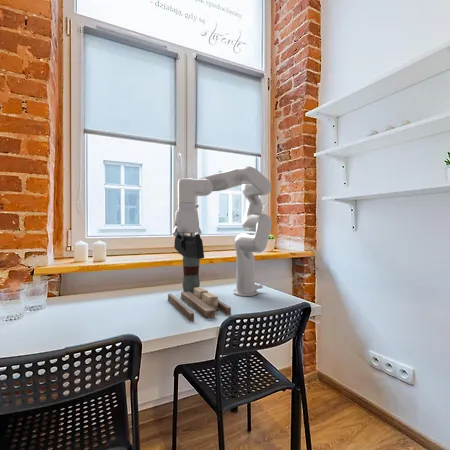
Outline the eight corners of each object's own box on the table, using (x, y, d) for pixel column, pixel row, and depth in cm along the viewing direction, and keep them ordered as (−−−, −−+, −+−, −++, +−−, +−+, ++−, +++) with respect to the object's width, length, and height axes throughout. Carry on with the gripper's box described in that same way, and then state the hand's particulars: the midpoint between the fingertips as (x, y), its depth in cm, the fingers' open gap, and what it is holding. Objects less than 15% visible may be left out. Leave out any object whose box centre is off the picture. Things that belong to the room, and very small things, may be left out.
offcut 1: (201, 299, 146) (201, 287, 145) (207, 303, 138) (207, 290, 138) (193, 300, 144) (193, 287, 144) (199, 304, 137) (199, 291, 136)
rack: (201, 295, 151) (201, 290, 151) (230, 314, 122) (230, 307, 122) (168, 300, 143) (168, 293, 143) (190, 321, 115) (190, 313, 115)
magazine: (206, 239, 115) (182, 215, 140) (198, 239, 113) (176, 216, 139) (202, 278, 120) (180, 249, 145) (194, 279, 118) (173, 249, 144)
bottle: (192, 288, 168) (192, 234, 167) (203, 290, 161) (203, 235, 160) (178, 290, 161) (178, 235, 160) (189, 294, 155) (189, 236, 154)
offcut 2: (210, 305, 136) (210, 292, 136) (217, 310, 129) (217, 296, 128) (202, 306, 134) (202, 293, 134) (209, 311, 127) (209, 297, 127)
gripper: (201, 207, 137) (201, 247, 137) (166, 207, 129) (166, 249, 130) (207, 207, 130) (208, 249, 131) (170, 207, 123) (171, 251, 123)
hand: (187, 249), depth 130 cm, fingers closed on magazine, 3 cm apart
